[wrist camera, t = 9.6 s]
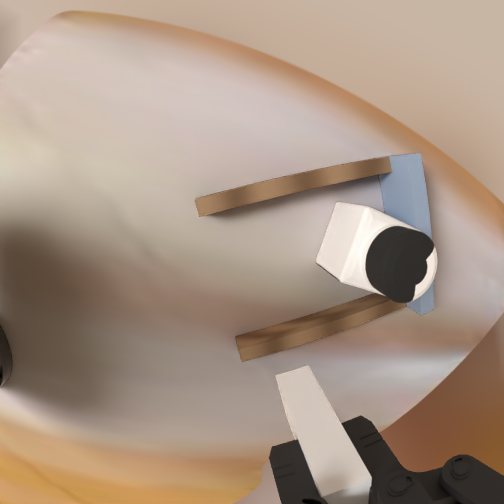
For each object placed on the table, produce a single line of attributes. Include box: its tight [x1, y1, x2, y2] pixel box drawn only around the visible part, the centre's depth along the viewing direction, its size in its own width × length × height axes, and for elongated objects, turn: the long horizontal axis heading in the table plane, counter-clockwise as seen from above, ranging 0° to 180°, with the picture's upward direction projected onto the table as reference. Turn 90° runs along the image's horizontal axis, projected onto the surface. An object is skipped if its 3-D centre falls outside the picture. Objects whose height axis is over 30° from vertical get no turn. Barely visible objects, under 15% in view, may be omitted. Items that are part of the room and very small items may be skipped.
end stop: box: [378, 153, 434, 315], centre depth 31 cm, size 2×17×6 cm, turn 14°
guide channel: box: [195, 157, 407, 362], centre depth 31 cm, size 20×17×3 cm
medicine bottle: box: [316, 202, 437, 303], centre depth 27 cm, size 7×7×12 cm
